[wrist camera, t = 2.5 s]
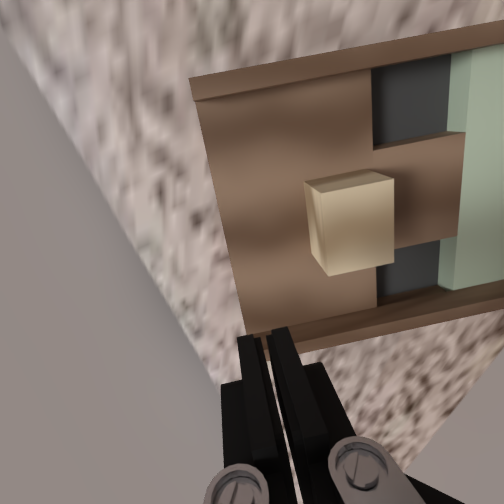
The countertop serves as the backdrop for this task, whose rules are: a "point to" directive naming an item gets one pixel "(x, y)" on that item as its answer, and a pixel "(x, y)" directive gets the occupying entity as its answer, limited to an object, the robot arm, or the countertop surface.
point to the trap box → (356, 158)
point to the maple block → (351, 220)
